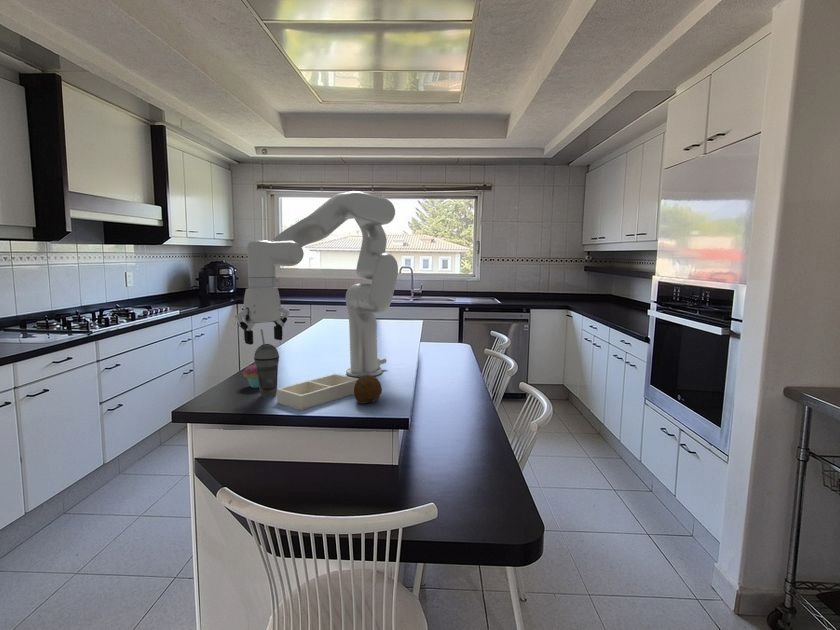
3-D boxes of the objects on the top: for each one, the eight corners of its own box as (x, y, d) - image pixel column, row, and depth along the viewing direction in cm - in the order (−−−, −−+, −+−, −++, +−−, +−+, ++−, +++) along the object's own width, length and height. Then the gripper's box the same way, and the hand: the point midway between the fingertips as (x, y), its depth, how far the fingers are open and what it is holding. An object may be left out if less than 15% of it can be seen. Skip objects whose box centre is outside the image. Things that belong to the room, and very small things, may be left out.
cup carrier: (335, 385, 151) (334, 373, 151) (359, 391, 144) (359, 379, 144) (277, 402, 134) (276, 389, 134) (301, 410, 127) (301, 396, 127)
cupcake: (277, 383, 154) (275, 347, 153) (258, 390, 147) (256, 352, 145) (257, 381, 158) (255, 345, 156) (238, 387, 150) (235, 350, 149)
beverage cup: (273, 399, 138) (270, 331, 135) (251, 398, 139) (247, 331, 136) (285, 392, 145) (282, 327, 142) (264, 391, 146) (260, 327, 144)
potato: (376, 394, 141) (376, 369, 140) (387, 406, 130) (387, 379, 129) (349, 397, 139) (348, 371, 138) (358, 410, 127) (357, 382, 126)
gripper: (280, 282, 147) (281, 337, 148) (227, 284, 133) (229, 344, 135) (294, 283, 142) (296, 339, 144) (241, 285, 128) (244, 347, 130)
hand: (264, 341), depth 139 cm, fingers open, 9 cm apart
